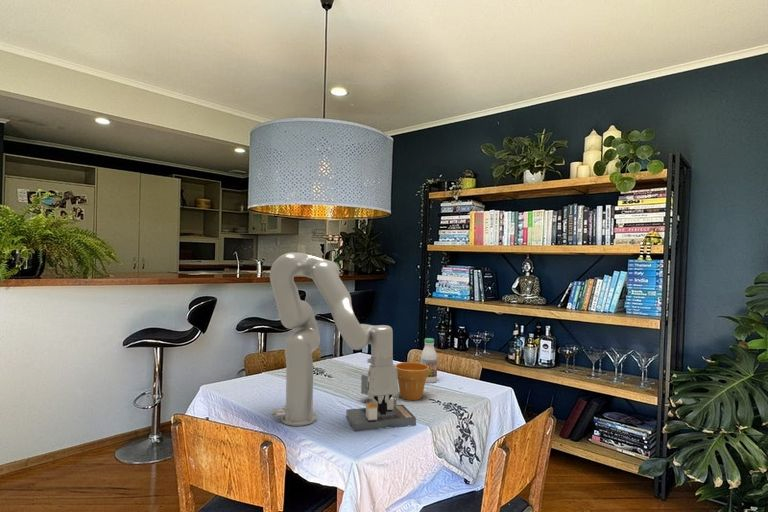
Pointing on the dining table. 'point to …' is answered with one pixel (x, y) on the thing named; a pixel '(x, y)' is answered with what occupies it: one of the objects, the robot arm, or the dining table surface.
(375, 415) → the lever
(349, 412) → the slotted slider board
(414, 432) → the dining table surface
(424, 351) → the milk bottle
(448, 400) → the dining table surface
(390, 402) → the on lever
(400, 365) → the flower pot
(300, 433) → the dining table surface
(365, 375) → the circuit breaker
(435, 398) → the dining table surface
